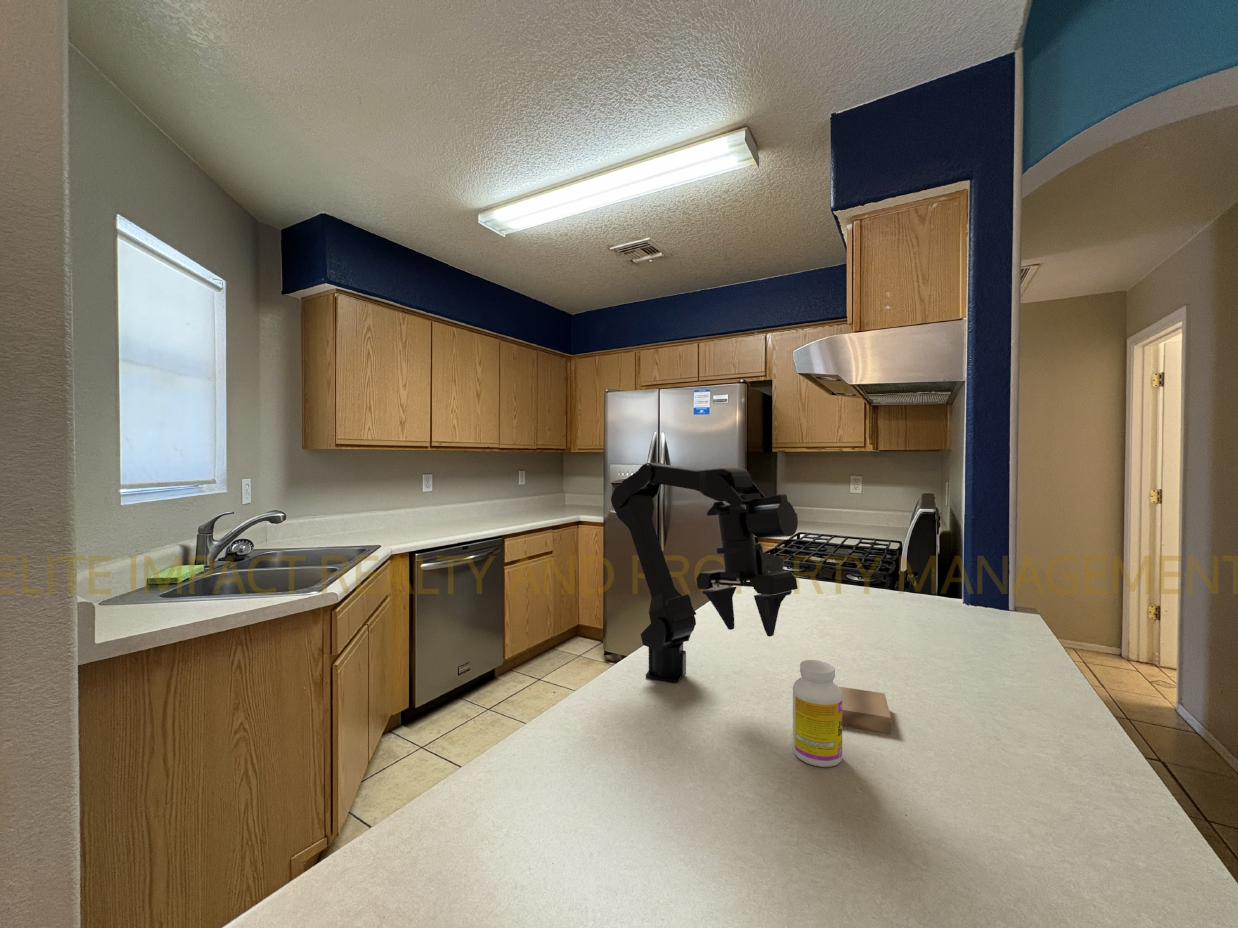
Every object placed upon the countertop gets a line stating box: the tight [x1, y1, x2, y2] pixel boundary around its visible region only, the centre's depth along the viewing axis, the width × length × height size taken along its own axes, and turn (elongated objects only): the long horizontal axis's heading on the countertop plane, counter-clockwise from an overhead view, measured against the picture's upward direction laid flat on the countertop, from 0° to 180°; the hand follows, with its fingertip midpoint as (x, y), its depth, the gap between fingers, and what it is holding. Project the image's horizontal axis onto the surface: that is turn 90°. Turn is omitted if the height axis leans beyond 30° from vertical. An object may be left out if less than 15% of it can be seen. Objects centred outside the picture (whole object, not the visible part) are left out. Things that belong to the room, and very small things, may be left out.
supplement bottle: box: [792, 659, 843, 768], centre depth 75 cm, size 7×7×13 cm
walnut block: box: [838, 685, 892, 735], centre depth 86 cm, size 9×9×2 cm
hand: (750, 632), depth 88 cm, fingers open, 9 cm apart
